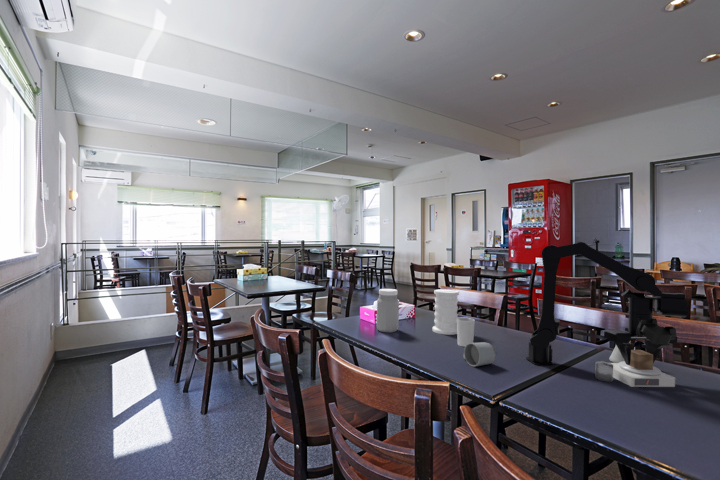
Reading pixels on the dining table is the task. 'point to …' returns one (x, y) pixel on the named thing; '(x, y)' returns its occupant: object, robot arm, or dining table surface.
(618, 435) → the dining table surface
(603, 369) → the steel weight with knob
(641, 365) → the walnut block
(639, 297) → the robot arm
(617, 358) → the flask
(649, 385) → the kitchen scale
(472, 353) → the ceramic mug
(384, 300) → the jar
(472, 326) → the drinking glass
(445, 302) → the decorative container
